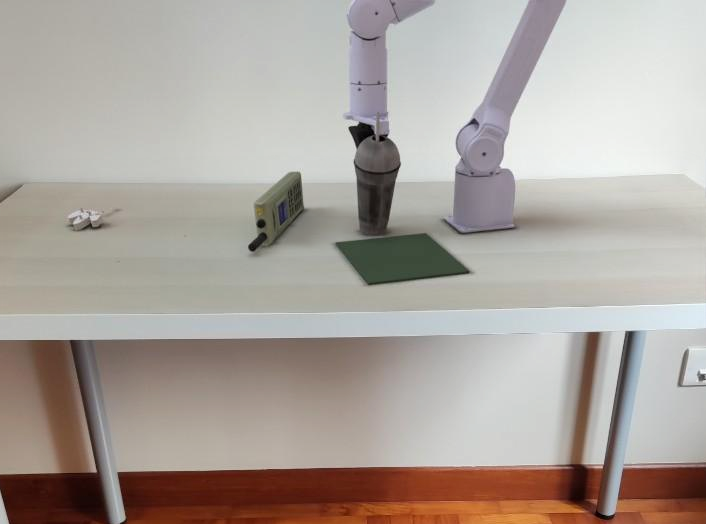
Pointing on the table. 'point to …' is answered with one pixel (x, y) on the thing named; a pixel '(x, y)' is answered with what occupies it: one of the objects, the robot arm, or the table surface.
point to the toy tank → (85, 218)
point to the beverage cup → (376, 181)
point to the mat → (400, 258)
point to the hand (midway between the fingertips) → (368, 172)
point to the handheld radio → (277, 209)
